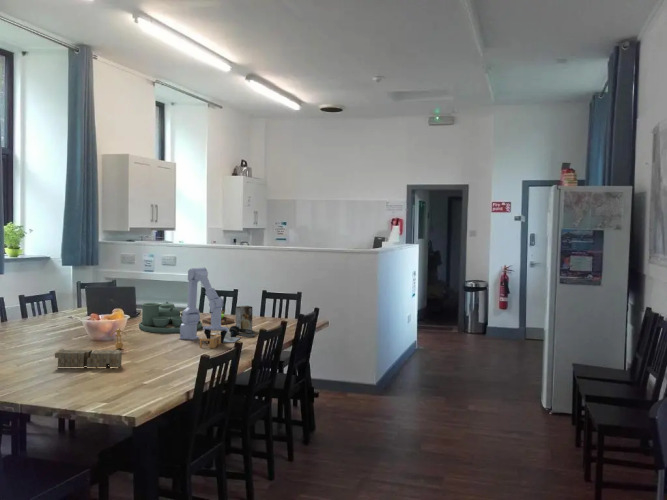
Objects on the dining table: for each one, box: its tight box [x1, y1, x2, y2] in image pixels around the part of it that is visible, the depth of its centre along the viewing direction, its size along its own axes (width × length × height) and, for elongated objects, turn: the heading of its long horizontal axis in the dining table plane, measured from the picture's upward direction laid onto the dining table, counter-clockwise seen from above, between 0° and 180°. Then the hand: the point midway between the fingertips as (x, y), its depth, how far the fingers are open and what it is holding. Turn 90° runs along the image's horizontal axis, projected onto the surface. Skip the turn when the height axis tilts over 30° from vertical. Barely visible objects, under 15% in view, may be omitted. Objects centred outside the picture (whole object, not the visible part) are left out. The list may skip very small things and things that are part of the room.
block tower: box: [54, 348, 123, 369], centre depth 277 cm, size 8×8×29 cm
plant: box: [201, 309, 235, 326], centre depth 408 cm, size 20×20×11 cm
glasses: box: [199, 333, 222, 349], centre depth 331 cm, size 8×13×5 cm, turn 173°
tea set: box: [138, 301, 203, 334], centre depth 383 cm, size 40×40×16 cm
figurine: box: [110, 327, 127, 350], centre depth 315 cm, size 8×6×12 cm
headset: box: [224, 319, 256, 338], centre depth 362 cm, size 14×10×20 cm
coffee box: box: [235, 305, 253, 331], centre depth 378 cm, size 9×6×16 cm
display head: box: [203, 331, 241, 344], centre depth 347 cm, size 18×14×5 cm
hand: (215, 343), depth 331 cm, fingers open, 7 cm apart
